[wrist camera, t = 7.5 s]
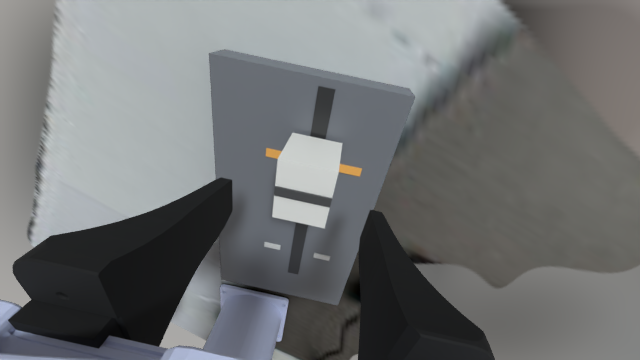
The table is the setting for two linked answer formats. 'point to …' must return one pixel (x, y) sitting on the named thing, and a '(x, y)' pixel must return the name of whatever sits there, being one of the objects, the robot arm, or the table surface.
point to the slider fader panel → (261, 166)
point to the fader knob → (306, 179)
